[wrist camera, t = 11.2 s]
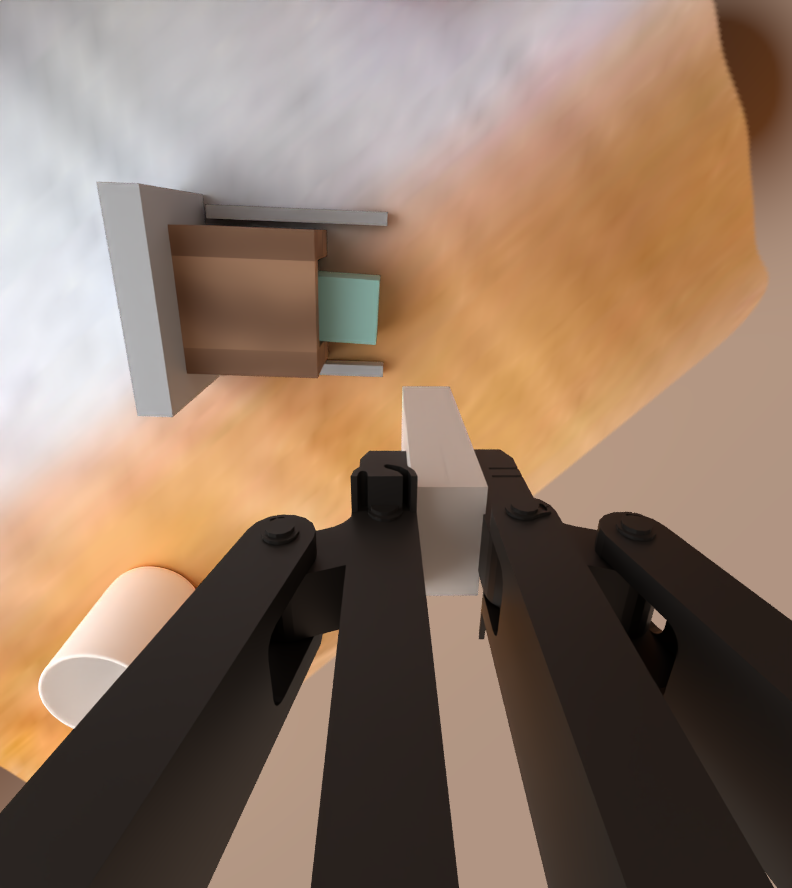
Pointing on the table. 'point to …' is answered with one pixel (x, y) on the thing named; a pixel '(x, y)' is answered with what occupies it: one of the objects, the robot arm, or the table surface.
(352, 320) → the peg
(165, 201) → the wall
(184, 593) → the mug
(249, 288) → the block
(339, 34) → the table surface
